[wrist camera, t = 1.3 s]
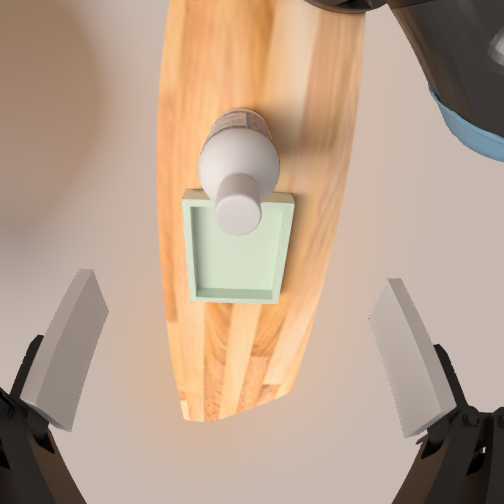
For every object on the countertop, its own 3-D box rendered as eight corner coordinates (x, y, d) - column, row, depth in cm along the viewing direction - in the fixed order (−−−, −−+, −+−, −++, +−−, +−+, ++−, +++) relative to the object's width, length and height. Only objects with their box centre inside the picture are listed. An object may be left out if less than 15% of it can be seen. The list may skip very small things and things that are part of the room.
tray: (185, 189, 38) (181, 199, 35) (291, 193, 38) (294, 203, 36) (192, 288, 48) (190, 301, 46) (276, 290, 49) (277, 303, 47)
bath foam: (267, 161, 36) (289, 262, 20) (211, 160, 35) (185, 261, 19) (270, 108, 32) (301, 164, 16) (211, 107, 31) (175, 163, 15)
